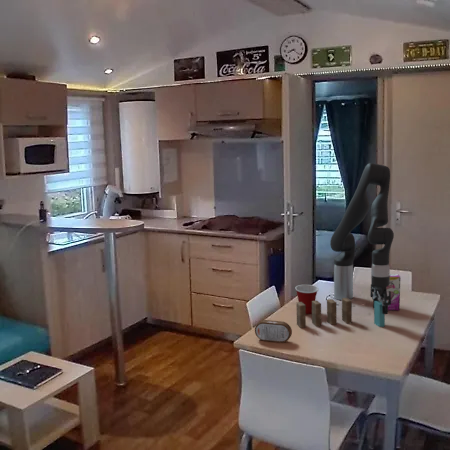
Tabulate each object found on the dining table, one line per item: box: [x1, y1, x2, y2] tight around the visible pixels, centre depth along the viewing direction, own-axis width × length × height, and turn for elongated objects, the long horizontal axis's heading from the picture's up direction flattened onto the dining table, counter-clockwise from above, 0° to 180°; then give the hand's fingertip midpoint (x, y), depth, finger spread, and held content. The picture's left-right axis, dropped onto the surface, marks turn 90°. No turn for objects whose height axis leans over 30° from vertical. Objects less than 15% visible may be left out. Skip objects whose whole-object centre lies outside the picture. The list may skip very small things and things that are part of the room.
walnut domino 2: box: [311, 300, 322, 327], centre depth 245 cm, size 2×5×10 cm, turn 11°
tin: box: [254, 319, 293, 343], centre depth 227 cm, size 15×3×8 cm, turn 71°
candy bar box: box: [378, 273, 401, 311], centre depth 262 cm, size 11×5×16 cm, turn 84°
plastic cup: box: [294, 284, 319, 315], centre depth 262 cm, size 11×11×12 cm
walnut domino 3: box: [326, 298, 338, 326], centre depth 246 cm, size 2×5×10 cm, turn 10°
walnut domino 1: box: [296, 301, 307, 329], centre depth 244 cm, size 2×5×10 cm, turn 11°
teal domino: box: [373, 301, 386, 328], centre depth 242 cm, size 2×5×10 cm, turn 10°
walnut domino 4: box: [341, 298, 353, 324], centre depth 248 cm, size 2×5×10 cm, turn 11°
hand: (380, 311), depth 242 cm, fingers open, 8 cm apart
